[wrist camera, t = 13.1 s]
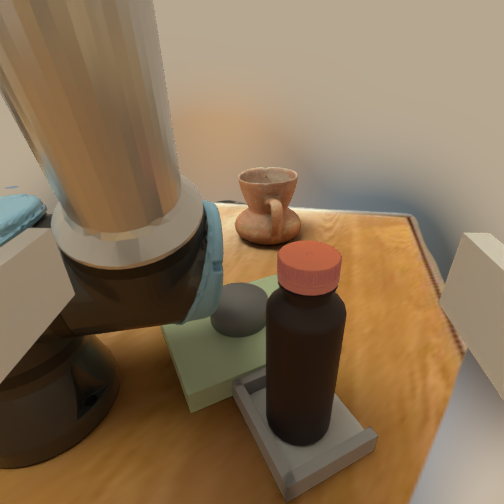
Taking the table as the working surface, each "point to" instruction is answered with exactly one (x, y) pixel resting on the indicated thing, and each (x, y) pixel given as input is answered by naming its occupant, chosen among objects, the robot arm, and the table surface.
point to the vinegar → (303, 342)
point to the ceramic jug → (268, 206)
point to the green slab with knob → (257, 387)
